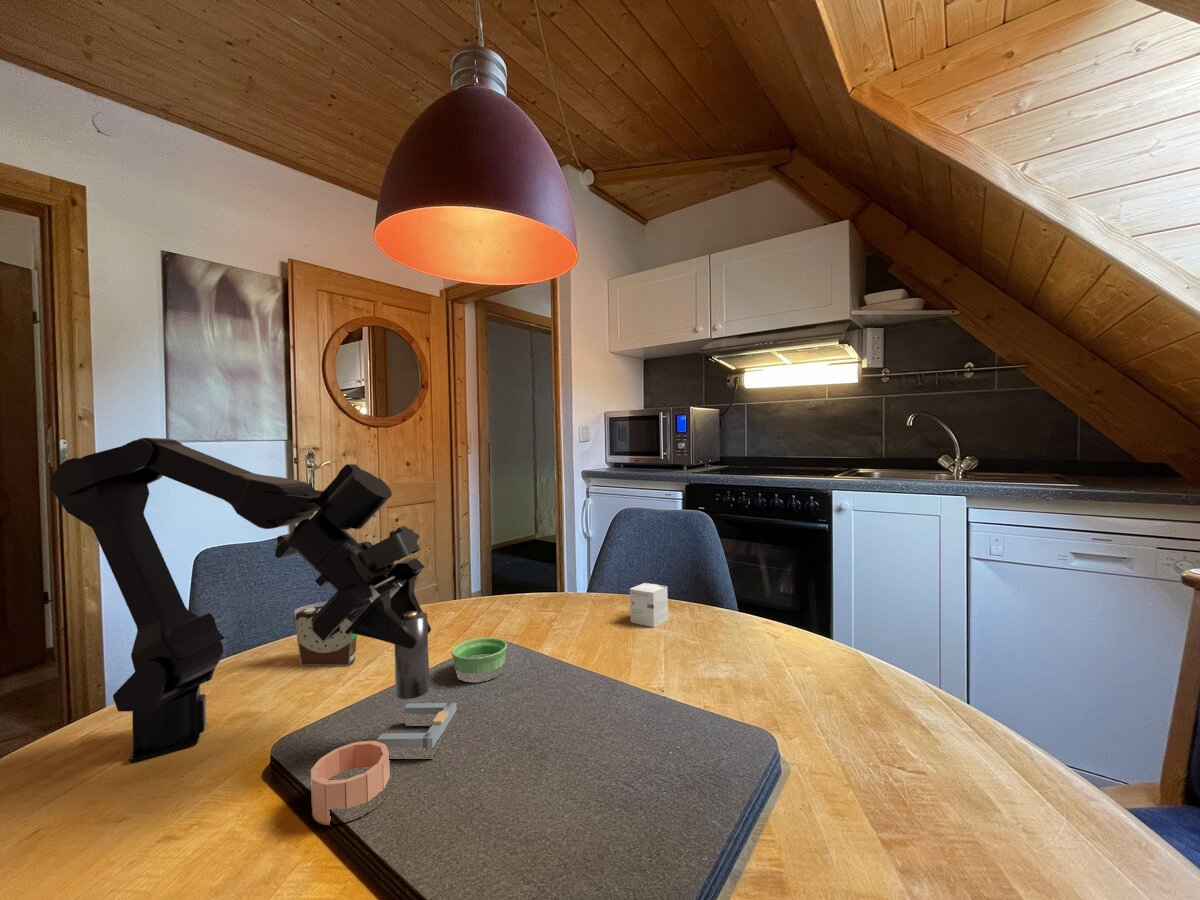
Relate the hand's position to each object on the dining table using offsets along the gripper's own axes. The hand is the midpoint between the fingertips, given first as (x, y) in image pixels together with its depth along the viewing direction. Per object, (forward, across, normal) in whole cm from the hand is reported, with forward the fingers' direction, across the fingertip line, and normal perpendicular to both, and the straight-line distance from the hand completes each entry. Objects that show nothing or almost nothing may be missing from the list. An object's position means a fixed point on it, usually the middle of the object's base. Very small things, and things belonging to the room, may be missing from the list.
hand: (421, 639), depth 62 cm
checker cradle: (+8, 0, +10) cm, 13 cm away
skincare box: (+31, +43, -13) cm, 55 cm away
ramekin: (+10, +19, +8) cm, 23 cm away
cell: (+4, 0, +6) cm, 7 cm away
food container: (-10, +26, +29) cm, 40 cm away
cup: (+7, -11, +11) cm, 17 cm away
